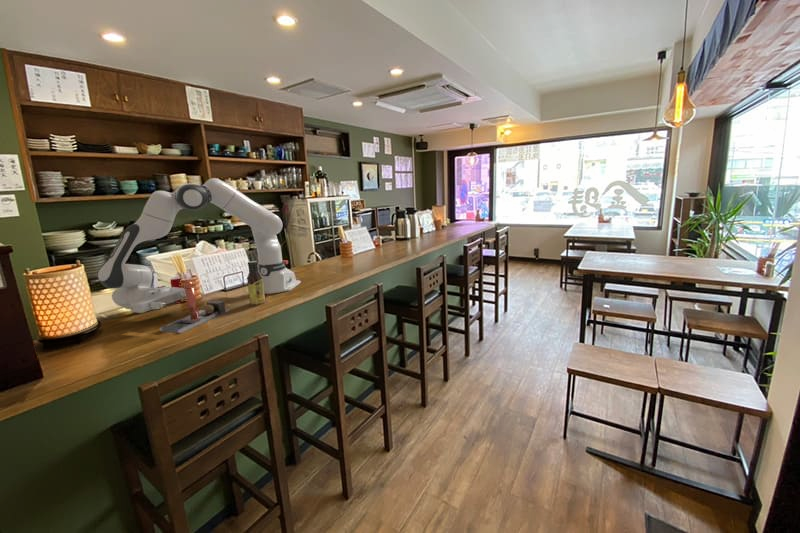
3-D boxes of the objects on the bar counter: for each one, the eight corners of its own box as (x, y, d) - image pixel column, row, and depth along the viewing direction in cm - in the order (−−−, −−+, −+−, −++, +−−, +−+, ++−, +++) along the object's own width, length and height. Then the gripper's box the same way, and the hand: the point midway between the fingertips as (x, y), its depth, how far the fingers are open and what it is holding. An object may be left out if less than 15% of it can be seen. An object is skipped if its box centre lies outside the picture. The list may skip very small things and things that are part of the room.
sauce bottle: (260, 308, 150) (253, 263, 145) (247, 308, 151) (240, 263, 147) (268, 303, 156) (262, 260, 152) (256, 302, 158) (250, 260, 153)
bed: (212, 310, 150) (210, 299, 149) (231, 312, 147) (229, 300, 146) (160, 334, 128) (157, 320, 127) (181, 336, 125) (178, 322, 124)
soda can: (183, 303, 162) (178, 278, 159) (172, 303, 162) (166, 278, 159) (190, 299, 167) (186, 275, 164) (179, 299, 167) (174, 275, 165)
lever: (197, 315, 141) (189, 278, 137) (210, 316, 139) (203, 279, 135) (181, 322, 134) (173, 283, 131) (196, 323, 132) (188, 284, 129)
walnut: (209, 312, 145) (207, 303, 144) (217, 312, 143) (215, 303, 143) (201, 315, 141) (199, 306, 140) (209, 316, 140) (207, 307, 139)
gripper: (119, 299, 130) (147, 301, 126) (169, 284, 149) (194, 285, 145) (123, 315, 132) (151, 318, 128) (172, 298, 151) (197, 300, 147)
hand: (174, 300), depth 137 cm, fingers open, 8 cm apart
